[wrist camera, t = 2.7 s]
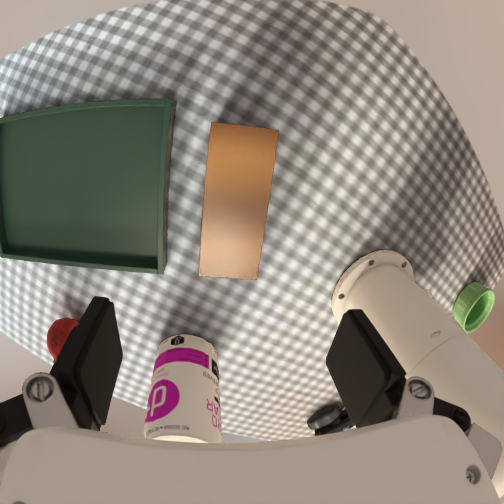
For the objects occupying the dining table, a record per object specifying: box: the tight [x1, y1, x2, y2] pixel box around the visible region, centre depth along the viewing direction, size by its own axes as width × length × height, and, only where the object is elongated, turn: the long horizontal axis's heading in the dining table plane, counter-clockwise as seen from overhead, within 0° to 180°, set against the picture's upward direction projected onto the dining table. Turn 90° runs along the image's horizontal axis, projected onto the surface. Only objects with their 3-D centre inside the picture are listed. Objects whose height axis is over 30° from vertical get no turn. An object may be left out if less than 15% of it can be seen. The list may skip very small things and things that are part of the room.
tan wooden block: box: [199, 122, 279, 280], centre depth 25 cm, size 13×5×6 cm, turn 173°
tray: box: [0, 99, 176, 274], centre depth 24 cm, size 23×17×2 cm
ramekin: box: [453, 282, 495, 333], centre depth 38 cm, size 9×9×4 cm
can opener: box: [307, 405, 355, 436], centre depth 44 cm, size 18×7×6 cm, turn 117°
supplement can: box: [144, 334, 222, 443], centre depth 29 cm, size 8×8×15 cm
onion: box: [47, 318, 79, 363], centre depth 28 cm, size 6×6×8 cm
